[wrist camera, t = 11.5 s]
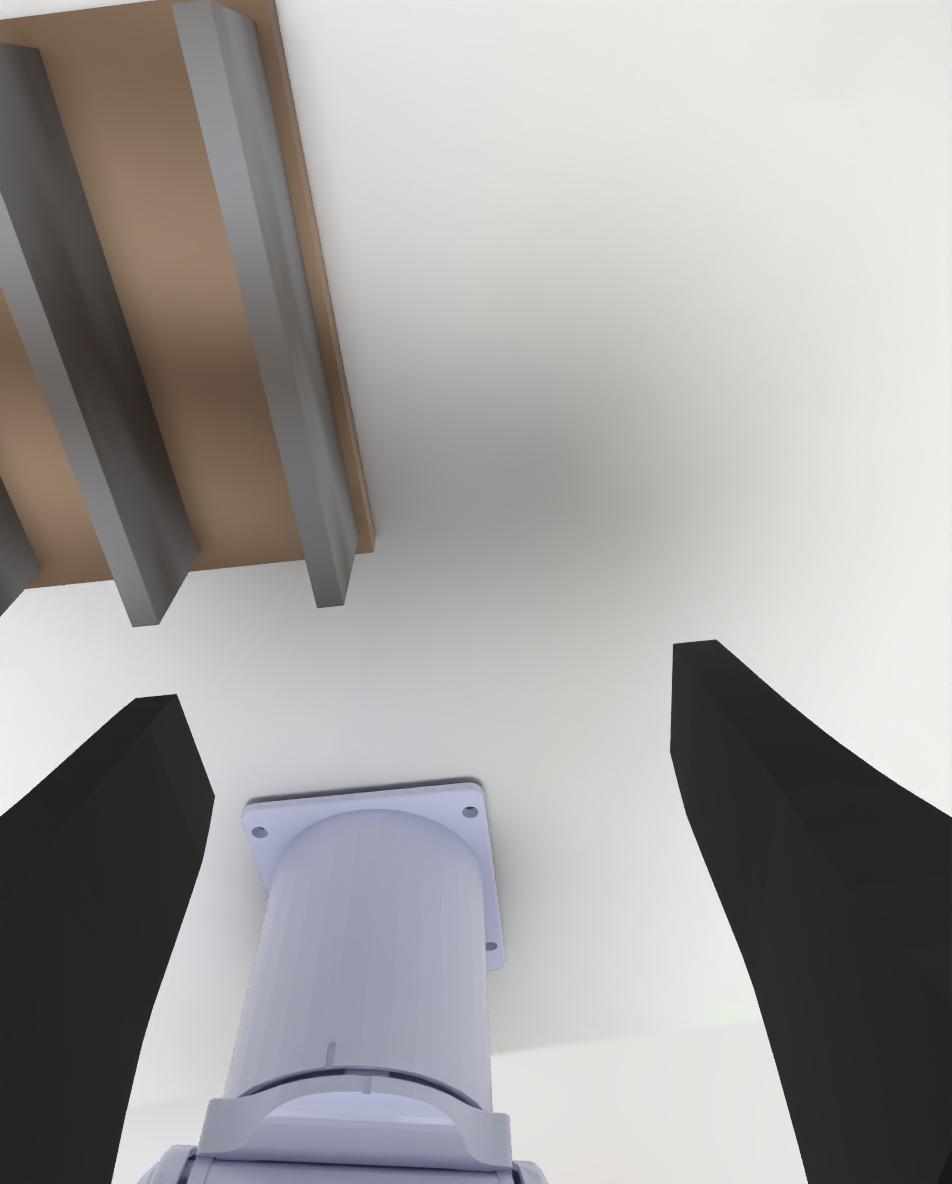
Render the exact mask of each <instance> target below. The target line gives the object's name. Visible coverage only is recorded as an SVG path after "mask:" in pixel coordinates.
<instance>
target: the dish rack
mask: <svg viewBox="0 0 952 1184" xmlns="http://www.w3.org/2000/svg"><path fill="white" fill-rule="evenodd" d="M375 539H376V538H375V533H374V527H373V522H372V517H371V512H370V506H369V501H368V496H367V490H366V485H365V480H364V474H363V469H362V464H361V458H360V453H359V448H358V442H357V437H356V432H355V426H354V421H353V416H352V410H351V405H350V400H349V395H348V389H347V384H346V379H345V373H344V368H343V363H342V357H341V352H340V347H339V341H338V336H337V331H336V325H335V320H334V315H333V309H332V304H331V299H330V293H329V288H328V283H327V278H326V272H325V267H324V262H323V256H322V251H321V246H320V240H319V235H318V230H317V224H316V219H315V214H314V208H313V203H312V198H311V192H310V187H309V182H308V176H307V171H306V166H305V161H304V155H303V150H302V145H301V139H300V134H299V129H298V123H297V118H296V113H295V107H294V102H293V97H292V91H291V86H290V81H289V75H288V70H287V65H286V59H285V54H284V49H283V44H282V38H281V33H280V28H279V22H278V17H277V12H276V6H275V1H274V0H155V1H147V2H139V3H131V4H123V5H115V6H107V7H100V8H92V9H84V10H76V11H68V12H60V13H52V14H44V15H36V16H28V17H20V18H12V19H4V20H0V616H1V615H2V614H3V613H4V612H5V611H6V610H7V609H8V607H9V606H10V605H11V604H12V603H13V602H14V601H15V600H16V598H17V597H18V596H19V595H20V594H21V593H22V592H23V591H24V589H30V588H39V587H49V586H58V585H67V584H77V583H86V582H96V581H105V580H115V583H116V586H117V588H118V591H119V593H120V596H121V598H122V601H123V604H124V606H125V609H126V611H127V614H128V617H129V619H130V622H131V624H132V627H140V626H150V625H159V623H160V622H161V620H162V618H163V616H164V615H165V613H166V611H167V609H168V608H169V606H170V604H171V602H172V601H173V599H174V597H175V595H176V593H177V592H178V590H179V588H180V586H181V585H182V583H183V581H184V579H185V578H186V576H187V574H188V572H191V571H200V570H210V569H219V568H229V567H238V566H247V565H257V564H266V563H276V562H285V561H295V560H304V559H305V560H306V564H307V568H308V572H309V576H310V580H311V585H312V589H313V593H314V597H315V601H316V605H317V608H323V607H333V606H342V605H344V602H345V597H346V593H347V588H348V583H349V579H350V574H351V569H352V564H353V560H354V555H355V554H361V553H371V552H373V550H374V545H375Z"/></svg>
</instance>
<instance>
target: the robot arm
mask: <svg viewBox="0 0 952 1184" xmlns="http://www.w3.org/2000/svg"><path fill="white" fill-rule="evenodd" d="M670 753H671V757H672V761H673V765H674V769H675V773H676V777H677V781H678V785H679V789H680V793H681V796H682V800H683V804H684V808H685V811H686V815H687V817H688V820H689V823H690V825H691V828H692V830H693V833H694V836H695V838H696V841H697V843H698V846H699V848H700V851H701V853H702V856H703V858H704V861H705V863H706V866H707V868H708V871H709V873H710V876H711V878H712V881H713V883H714V886H715V888H716V891H717V893H718V896H719V898H720V901H721V903H722V906H723V908H724V911H725V913H726V916H727V918H728V921H729V923H730V926H731V928H732V931H733V933H734V936H735V938H736V941H737V943H738V946H739V948H740V951H741V953H742V956H743V959H744V962H745V965H746V967H747V970H748V973H749V976H750V979H751V982H752V984H753V987H754V990H755V994H756V997H757V1001H758V1004H759V1008H760V1011H761V1014H762V1018H763V1021H764V1025H765V1028H766V1031H767V1035H768V1038H769V1041H770V1045H771V1049H772V1052H773V1056H774V1059H775V1063H776V1066H777V1070H778V1073H779V1077H780V1080H781V1084H782V1088H783V1091H784V1095H785V1099H786V1102H787V1106H788V1110H789V1113H790V1117H791V1120H792V1124H793V1128H794V1131H795V1134H796V1139H797V1142H798V1146H799V1150H800V1154H801V1158H802V1161H803V1165H804V1169H805V1173H806V1177H807V1181H808V1184H952V817H950V816H949V815H947V814H945V813H944V812H942V811H941V810H939V809H937V808H936V807H934V806H932V805H931V804H929V803H928V802H926V801H924V800H923V799H921V798H919V797H918V796H916V795H915V794H913V793H911V792H910V791H908V790H906V789H905V788H903V787H902V786H900V785H899V784H897V783H896V782H894V781H893V780H891V779H890V778H888V777H887V776H885V775H884V774H882V773H881V772H879V771H878V770H876V769H875V768H873V767H872V766H871V765H869V764H868V763H866V762H865V761H864V760H862V759H861V758H859V757H858V756H857V755H855V754H854V753H853V752H851V751H850V750H848V749H847V748H846V747H844V746H843V745H841V744H840V743H839V742H837V741H836V740H835V739H833V738H832V737H831V736H829V735H828V734H827V733H826V732H824V731H823V730H822V729H821V728H819V727H818V726H817V725H816V724H814V723H813V722H812V721H811V720H809V719H808V718H807V717H806V716H804V715H803V714H802V713H801V712H799V711H798V710H797V709H796V708H795V707H793V706H792V705H791V704H790V703H789V702H787V701H786V700H785V699H784V698H783V697H781V696H780V695H779V694H778V693H777V692H776V691H774V690H773V689H772V688H771V687H770V686H769V685H768V684H766V683H765V682H764V681H763V680H762V679H761V678H759V677H758V676H757V675H756V674H755V673H754V672H753V671H752V670H750V669H749V668H748V667H747V666H746V665H745V664H744V663H743V662H741V661H740V660H739V659H738V658H737V657H736V656H735V655H733V654H732V653H731V652H730V651H729V650H728V649H727V648H725V647H724V646H723V645H722V644H721V643H720V642H718V641H717V640H707V641H697V642H687V643H677V644H673V668H672V704H671V740H670ZM214 799H215V795H214V793H213V790H212V787H211V785H210V782H209V779H208V777H207V774H206V771H205V768H204V766H203V763H202V760H201V758H200V755H199V752H198V750H197V747H196V744H195V742H194V739H193V736H192V734H191V731H190V728H189V726H188V723H187V720H186V718H185V715H184V712H183V710H182V707H181V704H180V701H179V699H178V696H177V694H172V695H162V696H153V697H143V698H135V699H134V700H133V701H132V702H130V703H129V704H128V705H127V706H125V707H124V708H123V709H122V710H120V711H119V712H118V713H117V714H116V715H115V716H114V717H112V718H111V719H110V720H109V721H108V722H107V723H106V724H104V725H103V726H102V727H101V728H100V729H99V730H98V731H97V732H96V733H94V734H93V735H92V736H91V737H90V738H89V739H88V740H87V741H86V742H85V743H83V744H82V745H81V746H80V747H79V748H78V749H77V750H76V751H75V752H74V753H72V754H71V755H70V756H69V757H68V758H67V759H66V760H65V761H64V762H62V763H61V764H60V765H59V766H58V767H57V768H56V769H55V770H53V771H52V772H51V773H50V774H49V775H48V776H47V777H46V778H45V779H43V780H42V781H41V782H40V783H39V784H38V785H37V786H36V787H34V788H33V789H32V790H31V791H30V792H29V793H28V794H27V795H25V796H24V797H23V798H22V799H21V800H20V801H18V802H17V803H16V804H15V805H14V806H12V807H11V808H10V809H9V810H8V811H6V812H5V813H4V814H3V815H2V816H0V1184H111V1182H112V1177H113V1172H114V1167H115V1163H116V1158H117V1153H118V1148H119V1143H120V1138H121V1133H122V1129H123V1124H124V1119H125V1115H126V1111H127V1106H128V1102H129V1098H130V1094H131V1089H132V1085H133V1081H134V1076H135V1072H136V1068H137V1064H138V1059H139V1055H140V1051H141V1047H142V1043H143V1039H144V1036H145V1032H146V1029H147V1026H148V1022H149V1019H150V1016H151V1012H152V1009H153V1006H154V1003H155V1000H156V997H157V994H158V991H159V988H160V985H161V983H162V980H163V977H164V974H165V971H166V968H167V965H168V962H169V959H170V956H171V953H172V950H173V948H174V945H175V942H176V939H177V936H178V933H179V930H180V927H181V924H182V921H183V918H184V916H185V913H186V910H187V907H188V904H189V901H190V898H191V895H192V892H193V889H194V886H195V883H196V880H197V877H198V873H199V870H200V867H201V864H202V861H203V856H204V852H205V847H206V842H207V837H208V833H209V827H210V821H211V816H212V810H213V804H214ZM466 807H475V808H473V809H466ZM241 823H242V826H243V828H244V831H245V834H246V837H247V840H248V842H249V845H250V848H251V851H252V854H253V856H254V859H255V862H256V865H257V868H258V870H259V873H260V876H261V879H262V882H263V884H264V887H265V890H266V893H267V896H268V898H269V899H268V904H267V908H266V912H265V917H264V921H263V925H262V930H261V934H260V938H259V943H258V947H257V951H256V956H255V960H254V965H253V969H252V973H251V978H250V982H249V986H248V991H247V995H246V999H245V1004H244V1008H243V1012H242V1017H241V1021H240V1026H239V1030H238V1034H237V1039H236V1043H235V1047H234V1052H233V1056H232V1060H231V1065H230V1069H229V1073H228V1078H227V1082H226V1086H225V1091H224V1095H223V1098H214V1099H212V1100H210V1101H209V1104H208V1108H207V1113H206V1116H205V1121H204V1125H203V1129H202V1133H201V1137H200V1142H199V1146H198V1149H197V1146H191V1145H174V1146H171V1147H170V1148H169V1149H168V1150H167V1151H166V1152H165V1153H164V1154H163V1156H162V1157H161V1159H160V1161H158V1162H157V1163H156V1164H155V1165H154V1166H153V1167H152V1168H150V1169H149V1170H148V1171H147V1172H146V1173H145V1174H144V1175H143V1176H142V1177H141V1178H140V1180H139V1181H138V1183H137V1184H548V1182H547V1181H546V1178H545V1176H544V1174H543V1173H542V1171H541V1169H540V1168H539V1167H538V1166H537V1165H536V1164H535V1163H534V1162H531V1161H512V1150H511V1134H510V1118H509V1116H508V1115H507V1114H503V1113H494V1112H493V1110H492V1087H491V1064H490V1041H489V1019H488V996H487V973H486V971H491V970H497V969H500V968H502V967H503V966H504V965H505V962H506V955H505V947H504V940H503V932H502V925H501V917H500V910H499V903H498V895H497V888H496V880H495V873H494V866H493V858H492V851H491V843H490V836H489V829H488V821H487V814H486V806H485V799H484V792H483V790H482V788H481V787H480V786H479V785H477V784H475V783H467V782H466V783H456V784H446V785H436V786H425V787H415V788H405V789H394V790H384V791H374V792H364V793H353V794H343V795H333V796H322V797H312V798H302V799H291V800H281V801H271V802H261V803H253V804H249V805H248V806H246V807H245V808H244V810H243V813H242V816H241ZM257 827H262V828H264V829H259V828H257Z"/></svg>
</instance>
